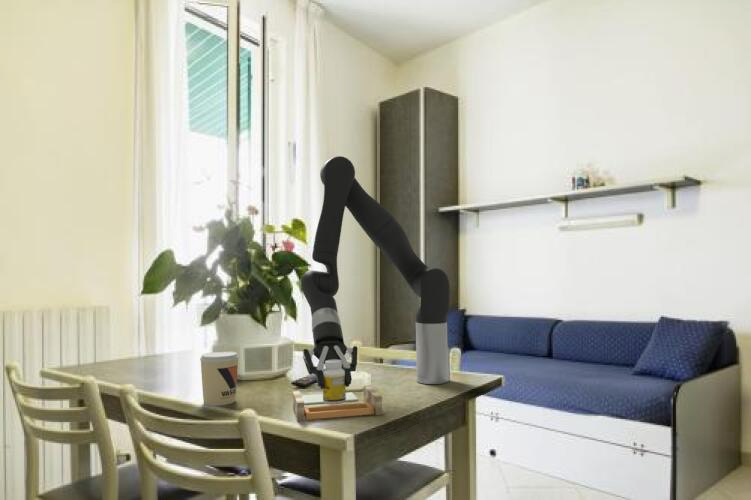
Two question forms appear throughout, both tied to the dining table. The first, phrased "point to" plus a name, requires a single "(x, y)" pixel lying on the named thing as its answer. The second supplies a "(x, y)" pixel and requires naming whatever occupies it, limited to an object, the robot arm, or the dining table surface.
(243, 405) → the dining table surface
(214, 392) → the coffee cup
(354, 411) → the orange rectangular tray
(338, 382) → the supplement bottle
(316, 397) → the mat
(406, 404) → the dining table surface
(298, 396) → the tunnel walls
